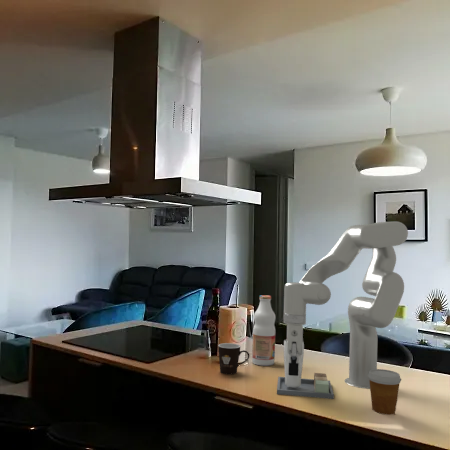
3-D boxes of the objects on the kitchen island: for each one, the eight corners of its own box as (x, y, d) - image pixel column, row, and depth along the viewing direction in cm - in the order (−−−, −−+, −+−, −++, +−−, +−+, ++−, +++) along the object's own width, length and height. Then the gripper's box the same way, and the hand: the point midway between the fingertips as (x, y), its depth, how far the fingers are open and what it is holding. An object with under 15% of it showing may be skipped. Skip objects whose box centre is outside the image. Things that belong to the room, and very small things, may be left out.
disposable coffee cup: (366, 416, 130) (366, 374, 131) (367, 406, 139) (368, 367, 140) (400, 422, 127) (401, 379, 128) (400, 411, 136) (401, 371, 137)
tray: (329, 387, 157) (329, 380, 157) (333, 402, 142) (333, 394, 142) (278, 383, 159) (278, 376, 159) (276, 397, 144) (276, 389, 145)
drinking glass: (289, 381, 156) (290, 338, 157) (306, 385, 152) (307, 341, 152) (278, 385, 151) (280, 341, 151) (296, 390, 146) (297, 344, 147)
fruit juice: (248, 361, 189) (250, 294, 190) (267, 359, 193) (269, 294, 194) (258, 366, 180) (260, 297, 182) (278, 365, 184) (280, 297, 185)
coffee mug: (212, 371, 171) (213, 345, 172) (227, 367, 177) (228, 342, 178) (235, 378, 163) (236, 350, 164) (250, 374, 170) (251, 347, 170)
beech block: (326, 389, 151) (326, 377, 152) (327, 392, 147) (327, 380, 148) (314, 388, 152) (314, 376, 152) (315, 391, 148) (315, 379, 148)
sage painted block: (327, 393, 147) (327, 381, 147) (328, 397, 143) (328, 384, 143) (315, 392, 148) (315, 380, 148) (315, 396, 144) (316, 383, 144)
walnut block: (325, 385, 156) (325, 373, 156) (326, 388, 152) (326, 376, 152) (313, 384, 156) (314, 372, 157) (314, 387, 152) (314, 375, 153)
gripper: (306, 323, 143) (305, 380, 142) (305, 315, 160) (303, 366, 159) (283, 322, 144) (281, 379, 143) (283, 314, 161) (282, 365, 161)
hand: (293, 371), depth 151 cm, fingers closed on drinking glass, 5 cm apart
